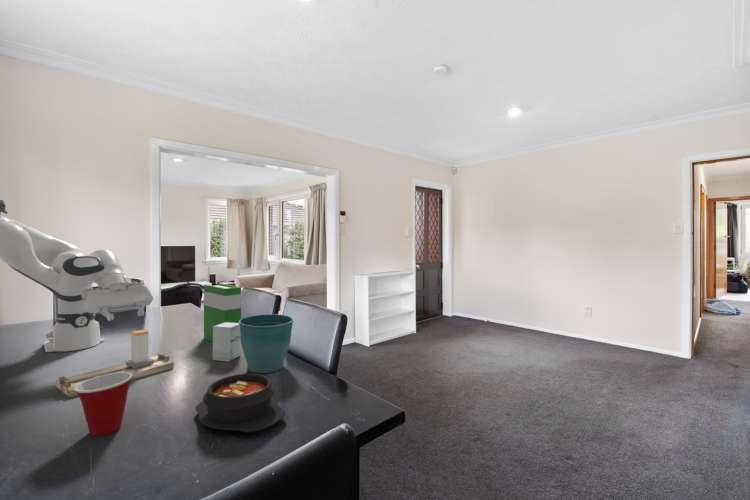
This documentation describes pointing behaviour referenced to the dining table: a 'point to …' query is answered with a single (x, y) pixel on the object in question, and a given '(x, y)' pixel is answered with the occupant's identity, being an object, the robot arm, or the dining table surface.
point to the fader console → (159, 365)
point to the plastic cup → (104, 401)
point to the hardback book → (220, 306)
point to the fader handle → (139, 350)
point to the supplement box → (226, 341)
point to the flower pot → (265, 341)
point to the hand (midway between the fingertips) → (126, 317)
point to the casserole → (240, 404)
